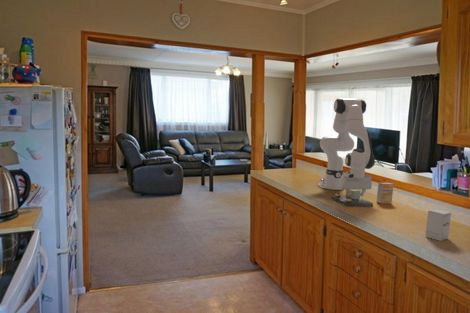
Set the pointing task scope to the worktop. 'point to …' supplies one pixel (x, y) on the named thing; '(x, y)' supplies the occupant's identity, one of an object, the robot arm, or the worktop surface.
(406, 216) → the worktop surface
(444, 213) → the supplement box
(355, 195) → the pale green rectangular block
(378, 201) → the supplement box
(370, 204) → the plate
